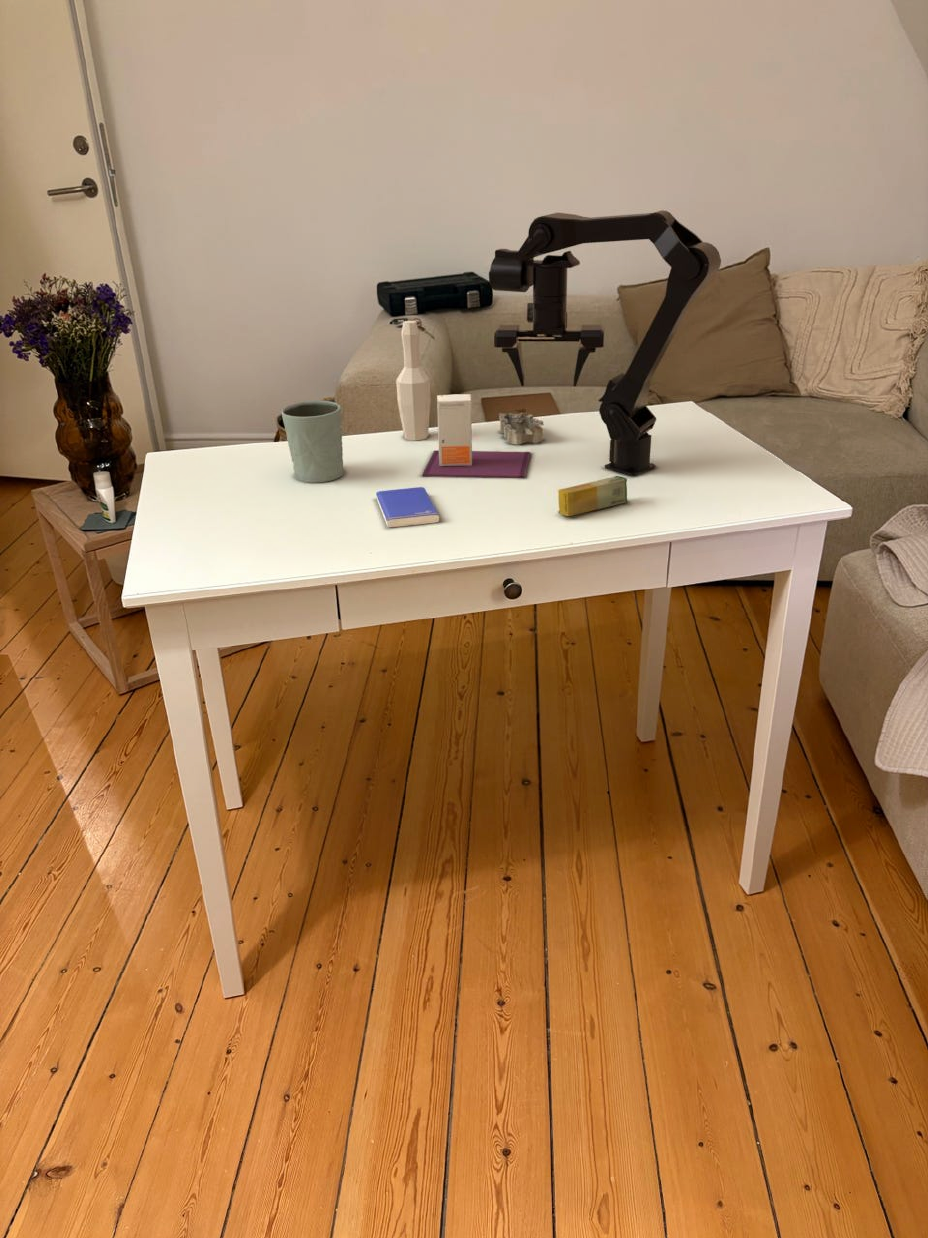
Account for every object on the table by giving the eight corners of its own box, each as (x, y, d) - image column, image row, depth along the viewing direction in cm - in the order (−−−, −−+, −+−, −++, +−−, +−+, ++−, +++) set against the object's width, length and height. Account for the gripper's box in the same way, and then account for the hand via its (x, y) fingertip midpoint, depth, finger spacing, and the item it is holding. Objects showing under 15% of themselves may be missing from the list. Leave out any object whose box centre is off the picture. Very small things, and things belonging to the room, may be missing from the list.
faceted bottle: (431, 441, 188) (426, 324, 177) (398, 442, 188) (391, 325, 177) (432, 431, 193) (427, 317, 183) (401, 432, 193) (393, 318, 183)
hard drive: (438, 512, 151) (424, 486, 161) (386, 518, 149) (375, 491, 160) (439, 522, 151) (424, 495, 162) (387, 527, 150) (376, 500, 161)
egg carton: (545, 443, 184) (545, 422, 182) (506, 446, 184) (506, 425, 182) (535, 427, 194) (535, 406, 192) (497, 429, 193) (497, 409, 191)
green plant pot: (352, 479, 170) (346, 412, 164) (295, 487, 167) (287, 419, 161) (339, 462, 178) (332, 397, 173) (284, 469, 175) (276, 404, 170)
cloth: (530, 453, 179) (530, 451, 179) (524, 478, 168) (524, 475, 168) (434, 452, 182) (434, 450, 181) (422, 476, 170) (422, 473, 170)
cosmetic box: (439, 467, 173) (436, 401, 167) (439, 459, 177) (436, 394, 171) (473, 466, 173) (471, 399, 167) (472, 458, 177) (470, 393, 171)
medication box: (617, 499, 158) (617, 475, 156) (628, 502, 156) (628, 478, 154) (557, 513, 153) (557, 488, 151) (568, 517, 150) (567, 492, 149)
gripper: (605, 285, 170) (602, 374, 178) (499, 286, 173) (500, 374, 180) (605, 296, 160) (601, 390, 168) (493, 297, 163) (494, 389, 170)
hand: (548, 385), depth 172 cm, fingers open, 9 cm apart
